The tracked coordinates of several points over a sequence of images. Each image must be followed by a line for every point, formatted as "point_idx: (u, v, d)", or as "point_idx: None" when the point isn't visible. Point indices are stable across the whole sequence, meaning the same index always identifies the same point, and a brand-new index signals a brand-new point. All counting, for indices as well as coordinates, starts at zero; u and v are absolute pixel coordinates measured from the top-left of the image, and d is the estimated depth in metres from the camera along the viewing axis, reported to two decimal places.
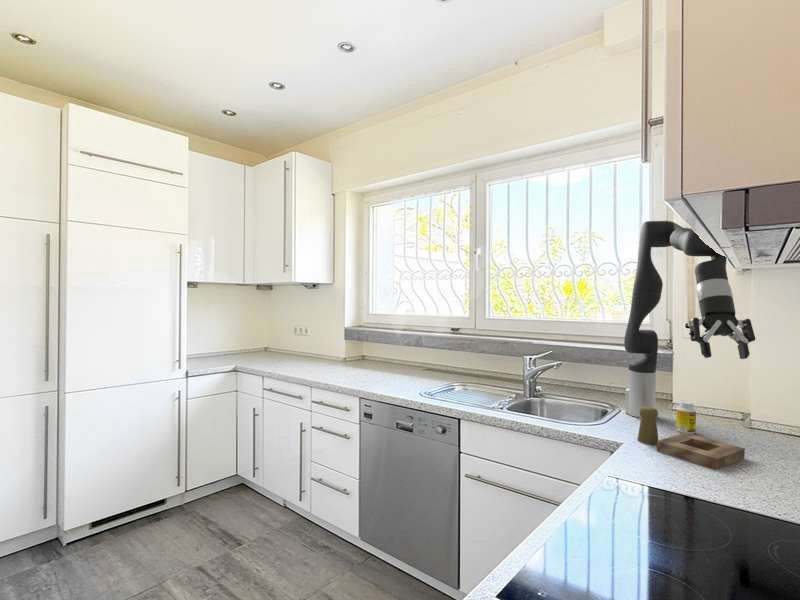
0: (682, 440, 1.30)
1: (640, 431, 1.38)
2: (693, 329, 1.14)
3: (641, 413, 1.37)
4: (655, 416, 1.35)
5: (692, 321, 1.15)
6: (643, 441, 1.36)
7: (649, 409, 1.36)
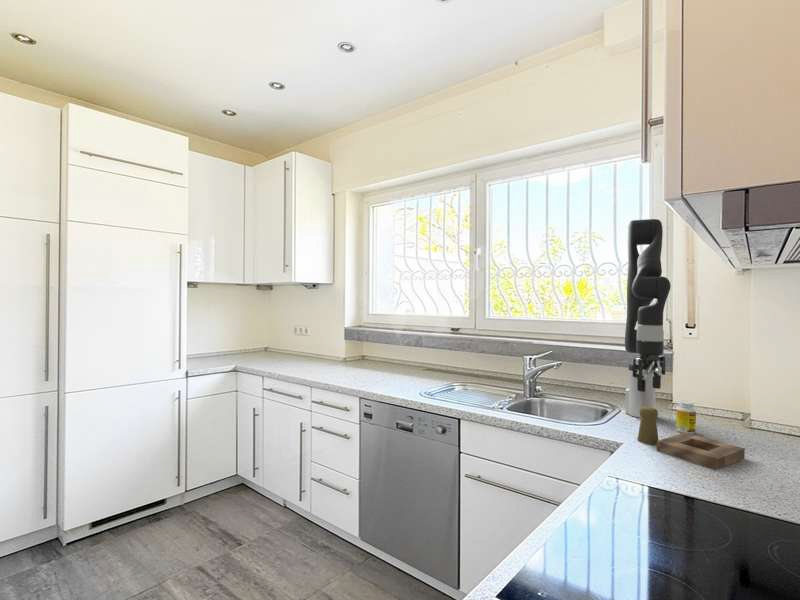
0: (682, 440, 1.30)
1: (640, 431, 1.38)
2: (638, 369, 1.33)
3: (641, 413, 1.37)
4: (655, 416, 1.35)
5: (638, 361, 1.33)
6: (643, 441, 1.36)
7: (649, 409, 1.36)
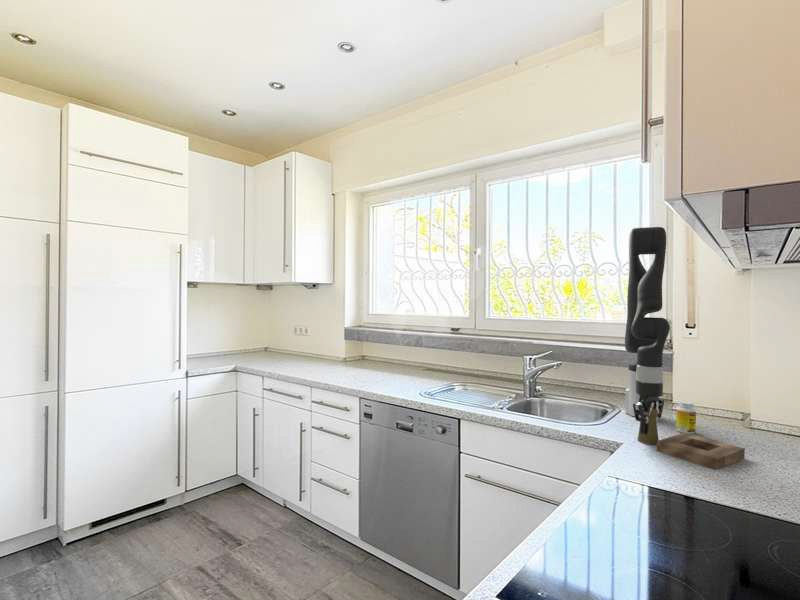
0: (682, 440, 1.30)
1: None
2: (640, 414, 1.34)
3: None
4: (655, 416, 1.35)
5: (638, 408, 1.34)
6: (643, 441, 1.36)
7: None
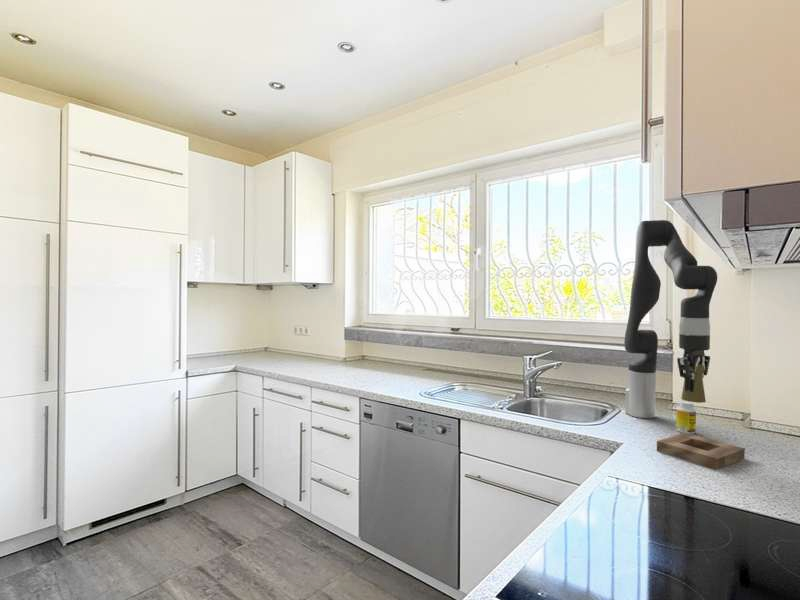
0: (682, 440, 1.30)
1: None
2: (685, 369, 1.24)
3: None
4: (701, 372, 1.25)
5: (683, 362, 1.24)
6: (688, 399, 1.26)
7: None
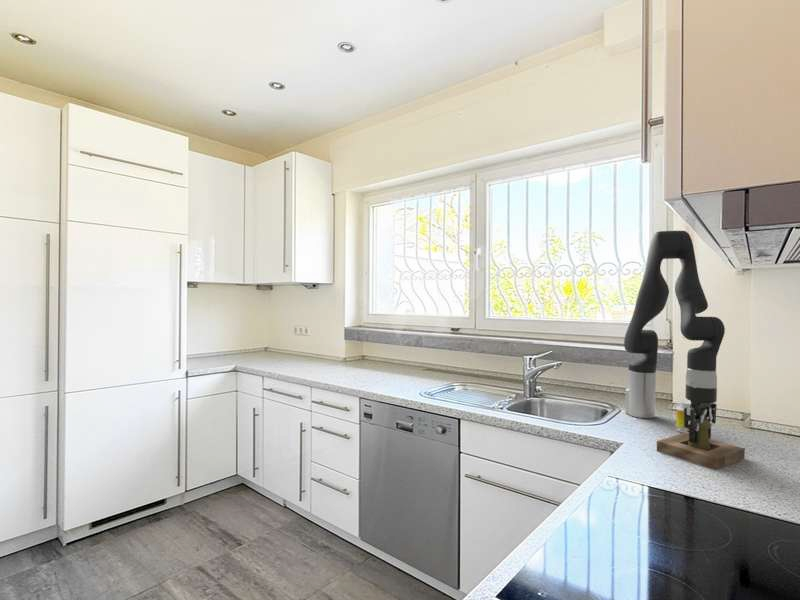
0: (682, 440, 1.30)
1: (690, 443, 1.26)
2: (691, 420, 1.22)
3: None
4: (707, 427, 1.24)
5: (690, 412, 1.22)
6: None
7: None
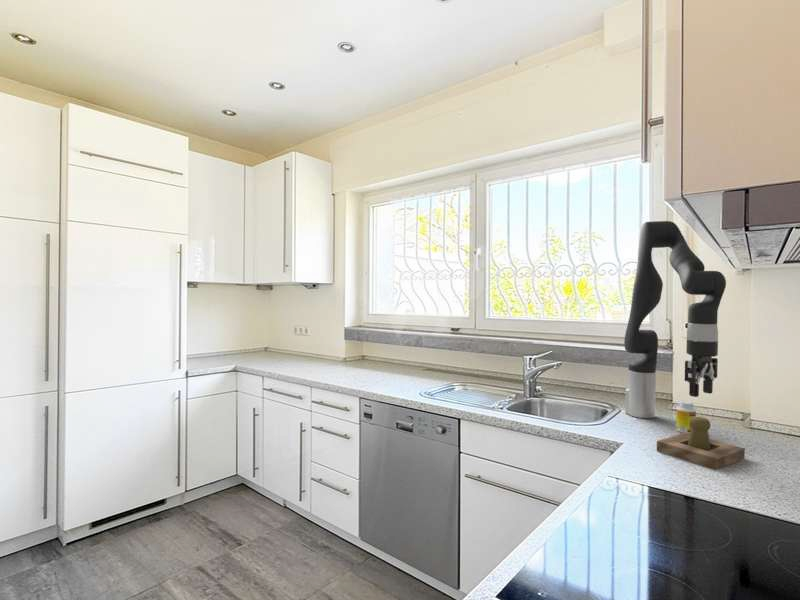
0: (682, 440, 1.30)
1: (690, 443, 1.26)
2: (691, 372, 1.22)
3: (691, 424, 1.26)
4: (707, 427, 1.24)
5: (691, 364, 1.22)
6: None
7: (701, 420, 1.25)
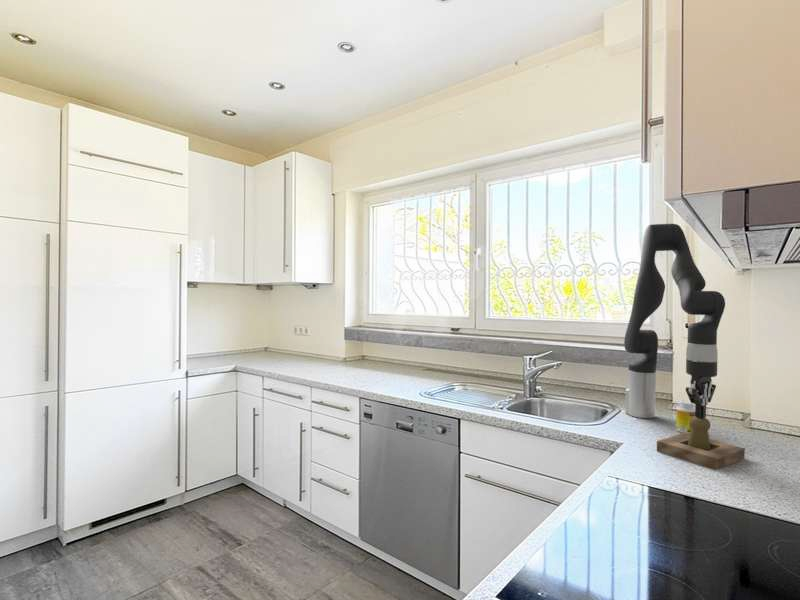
0: (682, 440, 1.30)
1: (690, 443, 1.26)
2: (695, 398, 1.23)
3: (691, 424, 1.26)
4: (707, 427, 1.24)
5: (692, 392, 1.23)
6: None
7: (701, 420, 1.25)
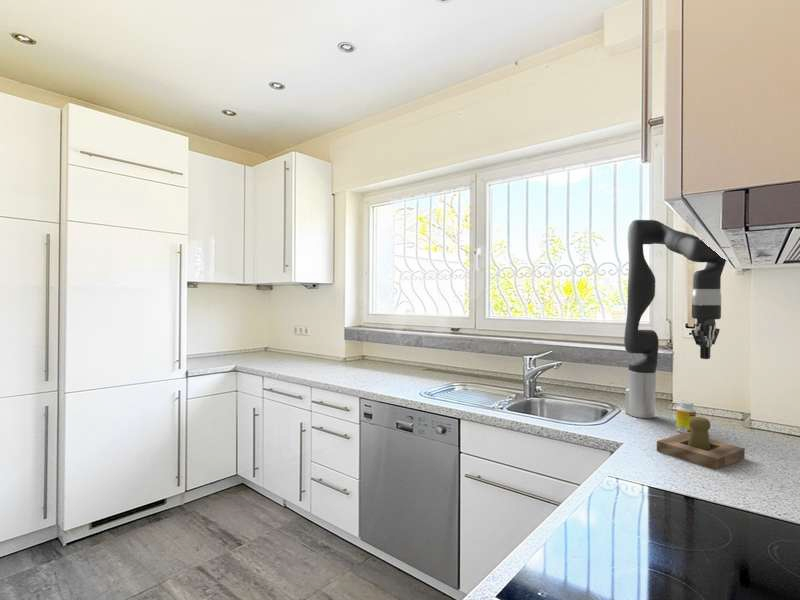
0: (682, 440, 1.30)
1: (690, 443, 1.26)
2: (700, 339, 1.32)
3: (691, 424, 1.26)
4: (707, 427, 1.24)
5: (697, 334, 1.32)
6: None
7: (701, 420, 1.25)
